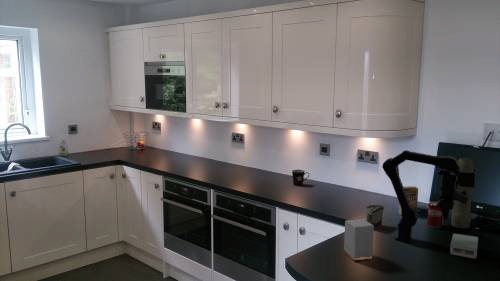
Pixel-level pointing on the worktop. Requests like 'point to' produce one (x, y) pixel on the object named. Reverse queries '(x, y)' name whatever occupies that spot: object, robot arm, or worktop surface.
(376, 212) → the food container
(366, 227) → the supplement box
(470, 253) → the beige tray
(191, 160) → the worktop surface
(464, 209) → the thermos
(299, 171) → the coffee mug
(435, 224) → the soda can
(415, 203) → the candy box
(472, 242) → the cover
